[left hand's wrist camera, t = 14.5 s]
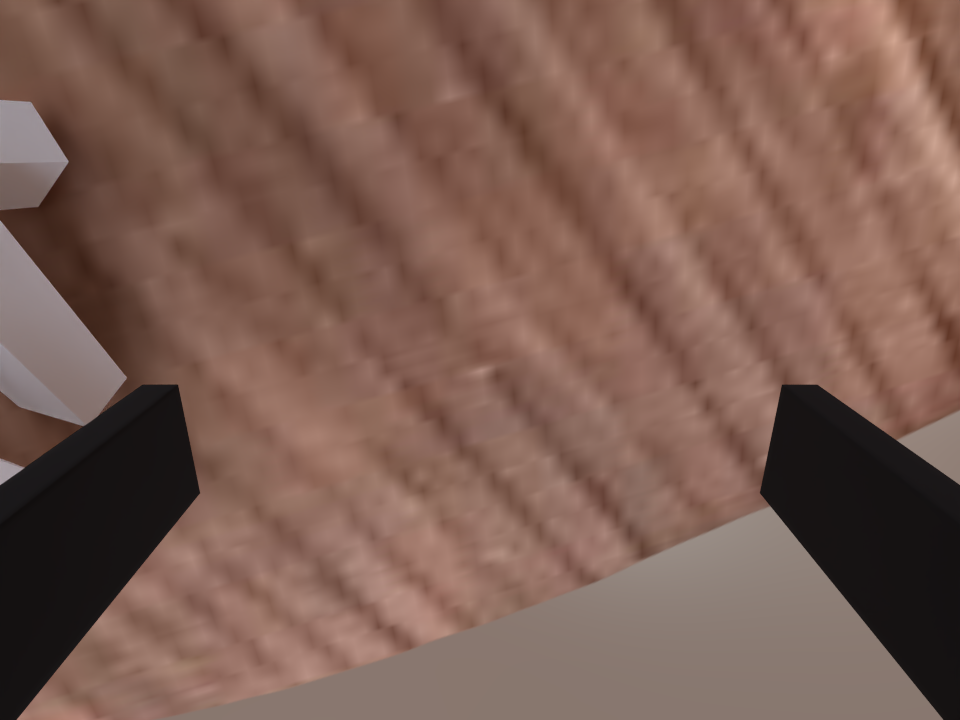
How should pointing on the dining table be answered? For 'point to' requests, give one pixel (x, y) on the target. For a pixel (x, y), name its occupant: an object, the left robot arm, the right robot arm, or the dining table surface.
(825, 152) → the dining table surface
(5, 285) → the pile of blocks
